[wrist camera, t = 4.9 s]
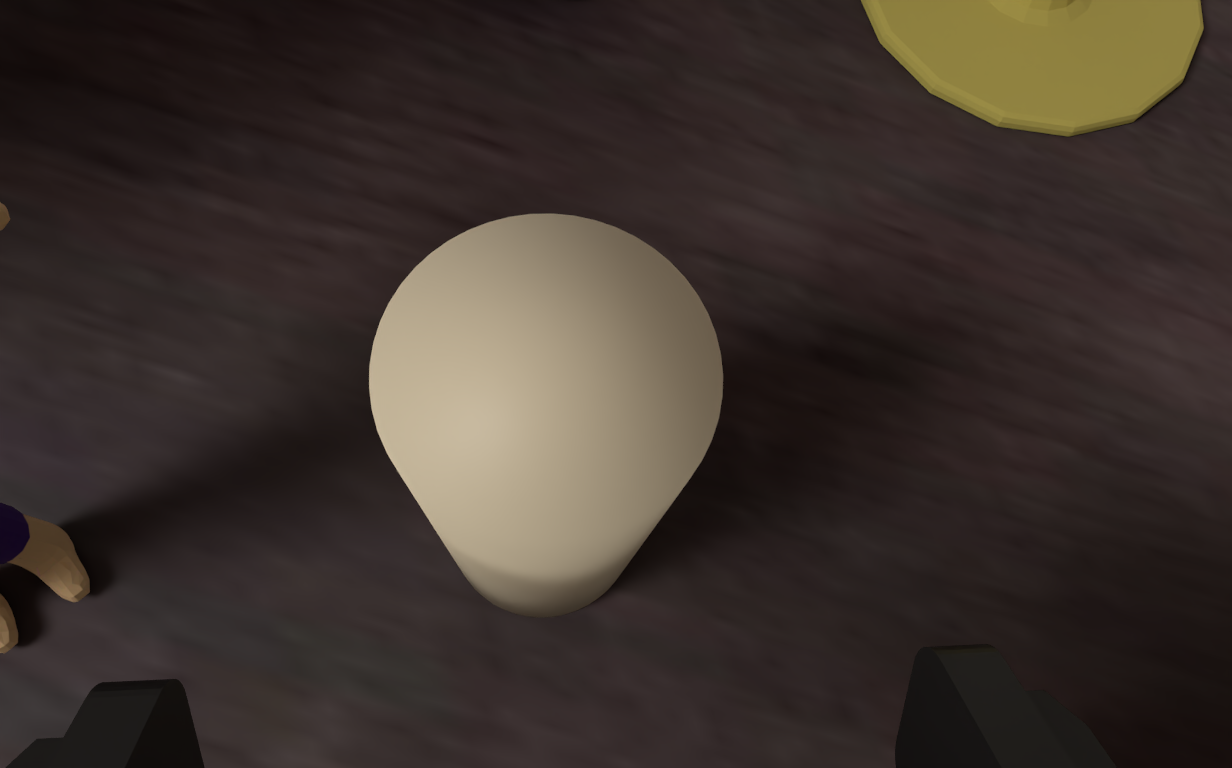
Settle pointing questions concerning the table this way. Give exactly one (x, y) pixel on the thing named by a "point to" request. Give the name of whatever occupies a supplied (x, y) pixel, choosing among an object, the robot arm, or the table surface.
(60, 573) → the toy
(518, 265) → the capsule
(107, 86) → the table surface
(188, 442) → the table surface
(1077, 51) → the candle
